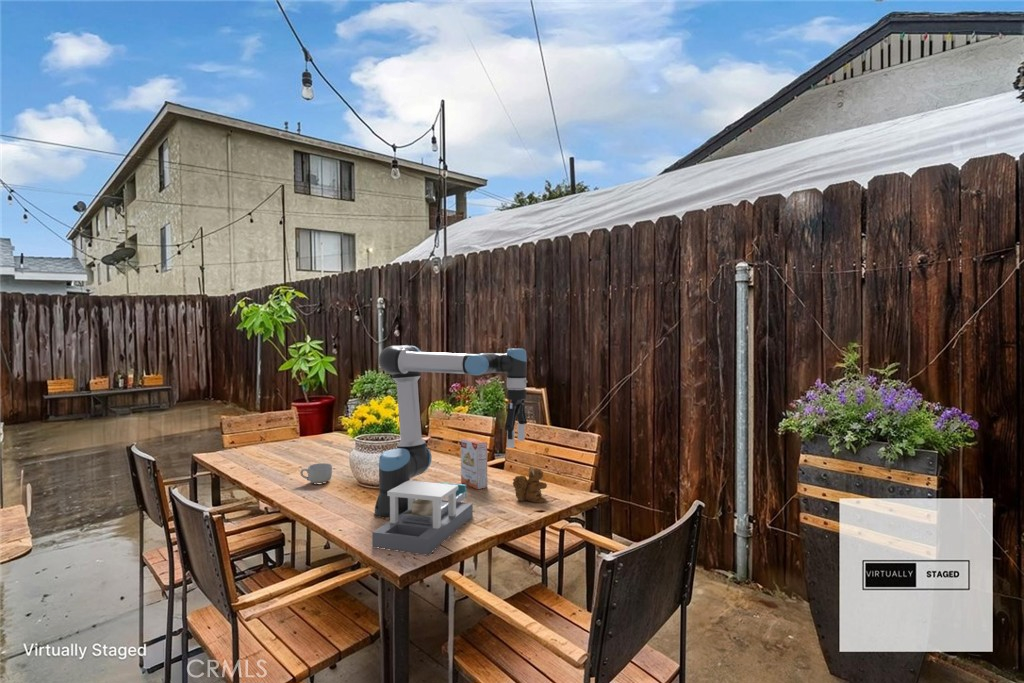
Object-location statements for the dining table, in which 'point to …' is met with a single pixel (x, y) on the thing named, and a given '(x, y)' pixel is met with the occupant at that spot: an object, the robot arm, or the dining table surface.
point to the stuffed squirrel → (530, 486)
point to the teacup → (318, 472)
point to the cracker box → (474, 463)
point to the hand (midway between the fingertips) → (516, 444)
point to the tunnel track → (416, 534)
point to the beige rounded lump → (422, 507)
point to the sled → (429, 519)
